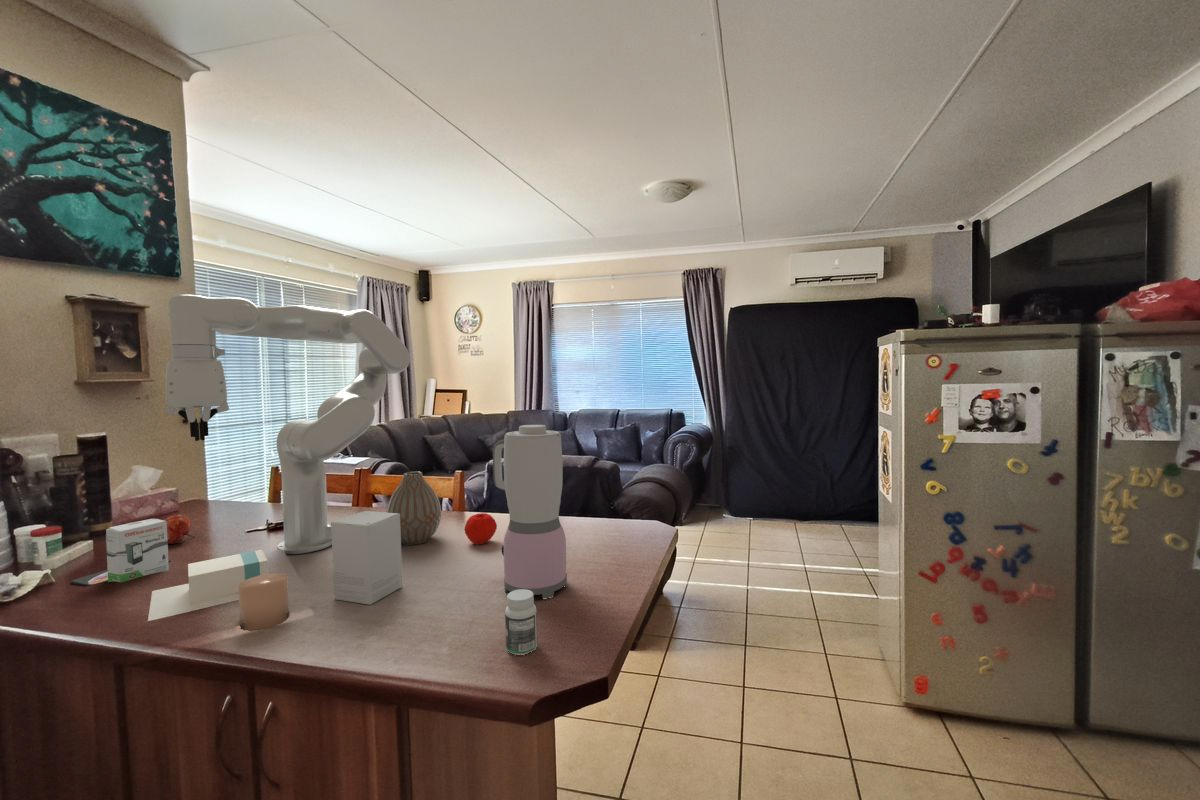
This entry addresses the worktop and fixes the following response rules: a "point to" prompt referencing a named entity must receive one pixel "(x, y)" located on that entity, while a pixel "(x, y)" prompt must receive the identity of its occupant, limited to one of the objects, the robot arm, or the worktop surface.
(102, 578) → the smartphone
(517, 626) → the pill bottle
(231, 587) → the carton
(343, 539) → the supplement box
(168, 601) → the white flat sheet
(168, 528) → the pomegranate
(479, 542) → the apple
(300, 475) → the robot arm
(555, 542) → the blender
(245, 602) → the beige pillar candle
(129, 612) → the worktop surface
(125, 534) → the ink box
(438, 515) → the vase
